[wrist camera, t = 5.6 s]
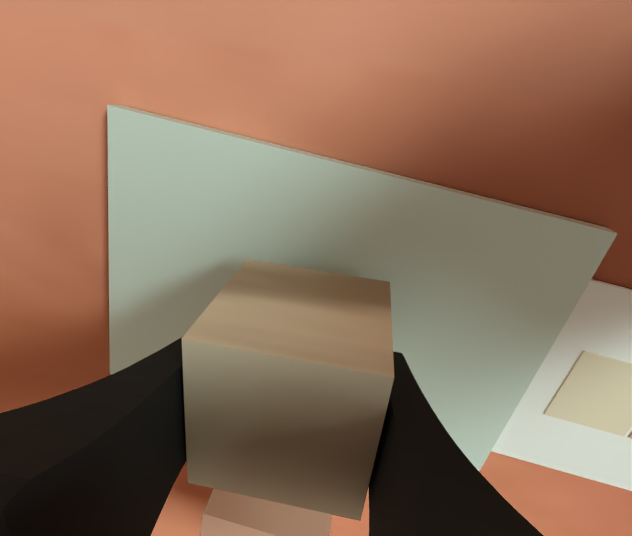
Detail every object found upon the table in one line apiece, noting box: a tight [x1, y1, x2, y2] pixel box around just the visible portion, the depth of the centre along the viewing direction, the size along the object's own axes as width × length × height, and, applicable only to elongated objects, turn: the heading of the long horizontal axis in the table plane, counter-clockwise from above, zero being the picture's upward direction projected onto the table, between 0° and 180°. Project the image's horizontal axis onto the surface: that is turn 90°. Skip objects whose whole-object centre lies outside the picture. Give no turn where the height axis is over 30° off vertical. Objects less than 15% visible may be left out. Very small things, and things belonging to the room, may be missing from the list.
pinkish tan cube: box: [200, 489, 332, 536], centre depth 17 cm, size 4×4×4 cm
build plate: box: [107, 105, 618, 471], centre depth 15 cm, size 11×16×1 cm
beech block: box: [182, 259, 394, 521], centre depth 11 cm, size 4×4×4 cm
